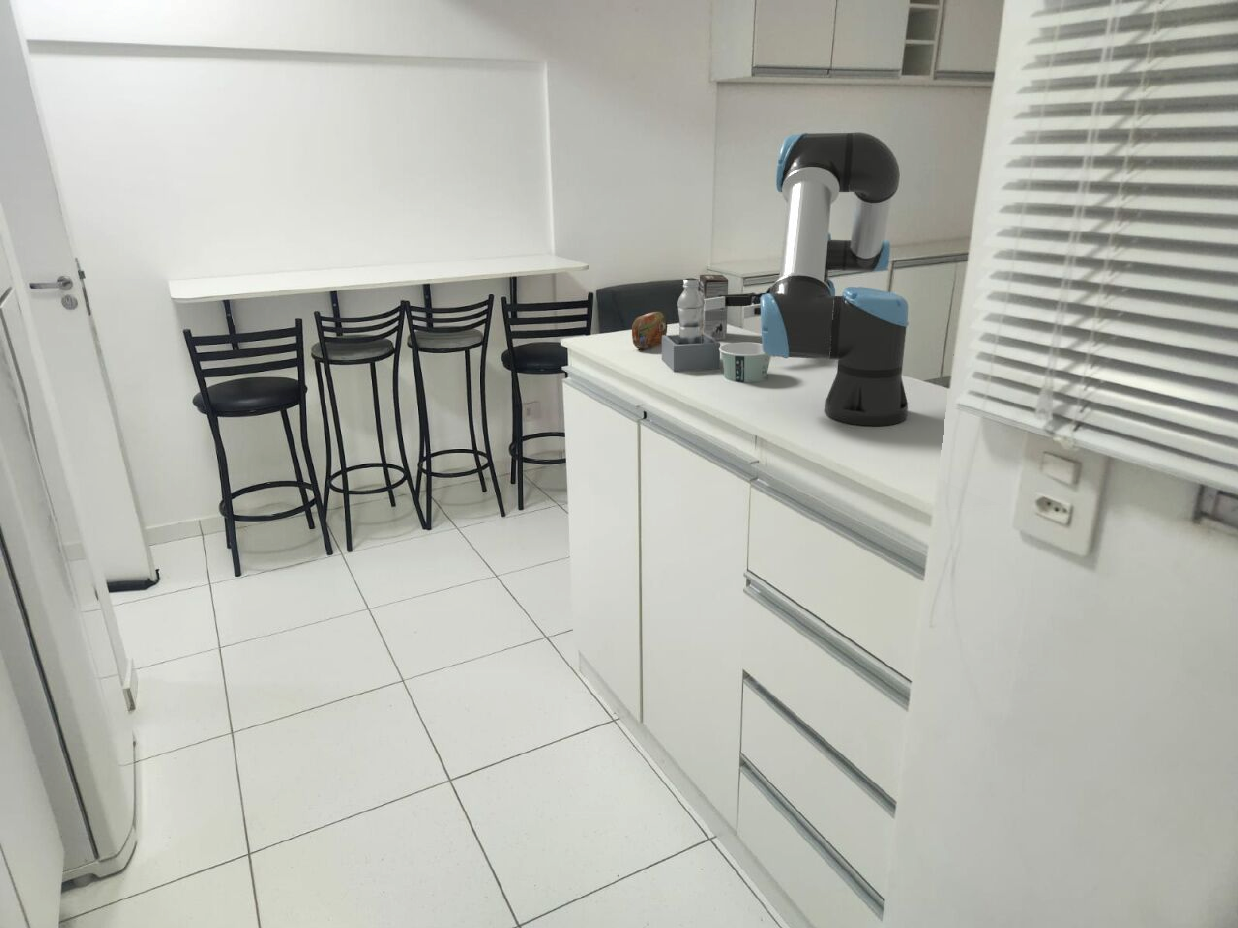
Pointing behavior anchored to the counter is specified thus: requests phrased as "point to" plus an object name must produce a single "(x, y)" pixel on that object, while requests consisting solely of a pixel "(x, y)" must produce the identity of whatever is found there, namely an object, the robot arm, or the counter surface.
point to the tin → (649, 330)
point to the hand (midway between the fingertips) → (722, 308)
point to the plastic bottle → (690, 313)
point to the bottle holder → (691, 354)
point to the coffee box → (715, 318)
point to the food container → (744, 362)
